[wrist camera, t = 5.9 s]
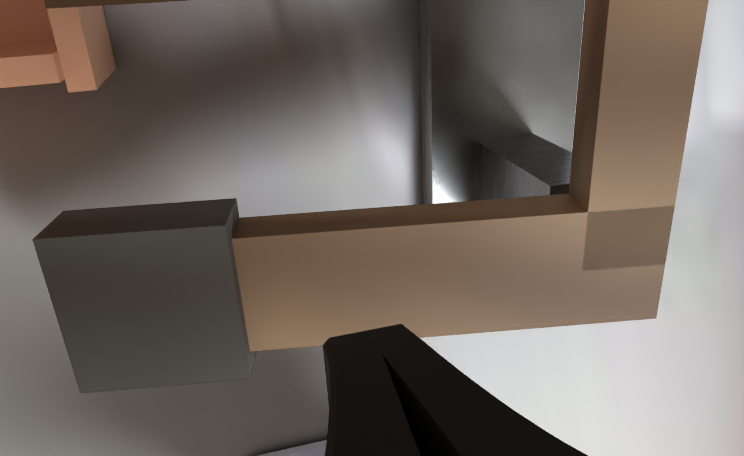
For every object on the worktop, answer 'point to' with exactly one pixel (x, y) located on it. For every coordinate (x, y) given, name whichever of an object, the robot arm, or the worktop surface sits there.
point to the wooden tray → (394, 239)
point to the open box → (54, 45)
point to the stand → (498, 97)
